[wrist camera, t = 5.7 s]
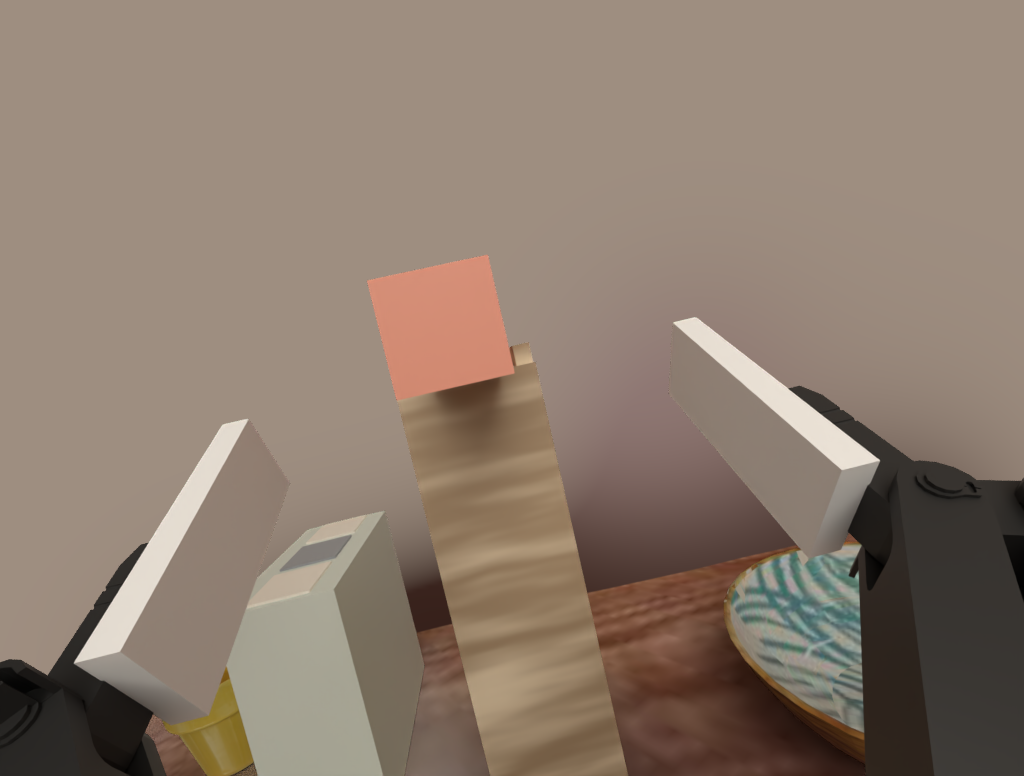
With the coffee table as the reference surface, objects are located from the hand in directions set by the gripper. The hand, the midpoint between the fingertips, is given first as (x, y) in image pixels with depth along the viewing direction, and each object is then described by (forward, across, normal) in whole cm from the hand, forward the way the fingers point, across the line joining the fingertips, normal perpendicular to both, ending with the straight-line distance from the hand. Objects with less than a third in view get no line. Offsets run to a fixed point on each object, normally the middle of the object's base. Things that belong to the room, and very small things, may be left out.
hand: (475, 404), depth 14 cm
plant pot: (+11, -33, -44) cm, 56 cm away
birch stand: (-1, 0, -37) cm, 37 cm away
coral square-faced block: (+12, -1, -6) cm, 14 cm away
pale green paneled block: (+8, -19, -42) cm, 47 cm away
